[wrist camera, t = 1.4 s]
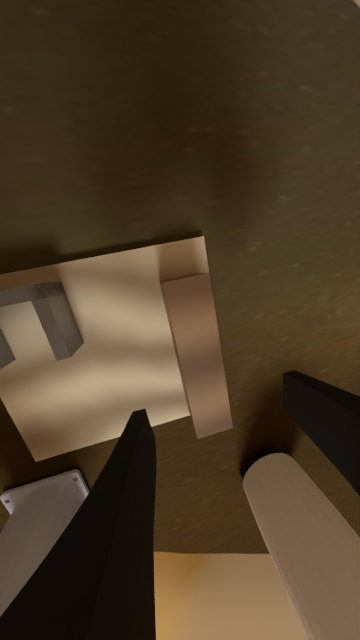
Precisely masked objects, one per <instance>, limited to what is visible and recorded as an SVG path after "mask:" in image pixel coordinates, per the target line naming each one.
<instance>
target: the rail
mask: <svg viewBox="0 0 360 640" xmlns="http://www.w3.org/2000/svg"><path fill="white" fill-rule="evenodd" d="M159 282H160V286H161V291H162V295H163V300H164V304H165V309H166V313H167V317H168V322H169V326H170V331H171V335H172V340H173V344H174V348H175V353H176V357H177V362H178V366H179V371H180V375H181V380H182V384H183V388H184V393H185V397H186V402H187V406H188V410H189V413H190V417H191V420H192V423H193V427H194V430H195V433H196V437H197V439H200V438H203V437H206V436H209V435H212V434H215V433H218V432H221V431H225V430H228V429H231V428H233V426H232V419H231V412H230V406H229V399H228V392H227V386H226V379H225V372H224V366H223V359H222V352H221V346H220V339H219V333H218V326H217V319H216V313H215V306H214V299H213V293H212V286H211V279H210V273H195V274H190V275H186V276H181V277H176V278H172V279H167V280H162V281H159Z"/></svg>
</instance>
